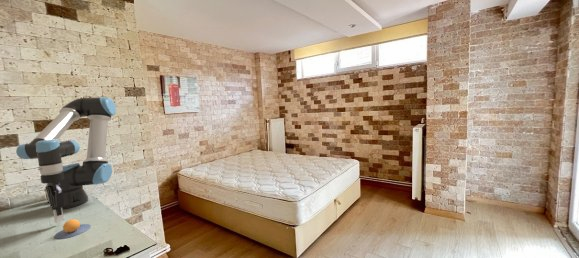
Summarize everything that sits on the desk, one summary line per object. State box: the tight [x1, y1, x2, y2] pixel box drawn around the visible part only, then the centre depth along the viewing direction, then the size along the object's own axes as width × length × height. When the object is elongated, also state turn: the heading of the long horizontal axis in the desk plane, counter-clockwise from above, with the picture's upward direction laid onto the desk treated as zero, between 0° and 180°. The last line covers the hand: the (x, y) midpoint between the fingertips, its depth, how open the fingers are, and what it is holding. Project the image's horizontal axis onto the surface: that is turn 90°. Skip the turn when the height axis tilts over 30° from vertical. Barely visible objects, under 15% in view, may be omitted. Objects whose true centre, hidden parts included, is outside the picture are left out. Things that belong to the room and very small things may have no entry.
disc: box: [53, 223, 92, 240], centre depth 103 cm, size 12×12×1 cm
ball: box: [62, 218, 81, 233], centre depth 103 cm, size 6×6×6 cm
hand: (59, 221), depth 110 cm, fingers closed
